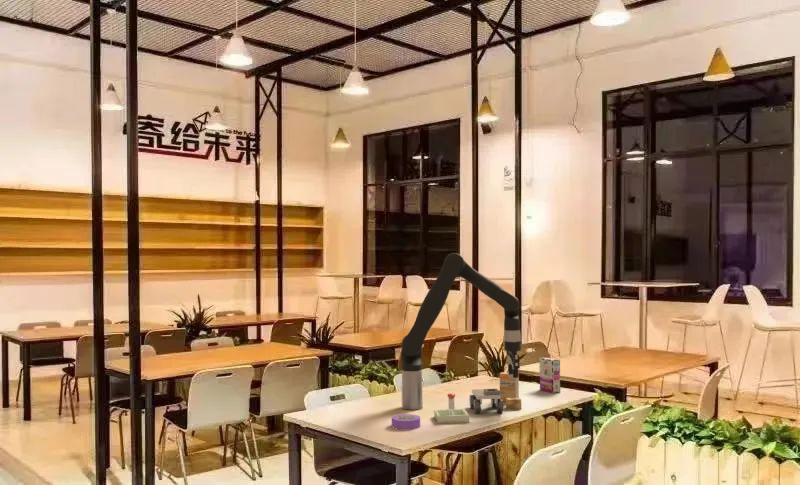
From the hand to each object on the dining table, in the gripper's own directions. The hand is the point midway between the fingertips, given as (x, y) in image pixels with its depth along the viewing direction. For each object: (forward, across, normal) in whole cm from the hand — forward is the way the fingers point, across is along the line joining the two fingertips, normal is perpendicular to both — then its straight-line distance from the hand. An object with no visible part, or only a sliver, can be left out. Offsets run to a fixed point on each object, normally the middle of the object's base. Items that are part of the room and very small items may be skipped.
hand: (513, 376), depth 305 cm
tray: (+14, +17, -31) cm, 38 cm away
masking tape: (+15, +25, -51) cm, 59 cm away
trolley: (+14, +2, -13) cm, 20 cm away
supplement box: (+15, -16, +2) cm, 22 cm away
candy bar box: (+15, -36, +28) cm, 48 cm away
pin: (+14, +17, -31) cm, 38 cm away
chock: (+15, 0, 0) cm, 15 cm away
